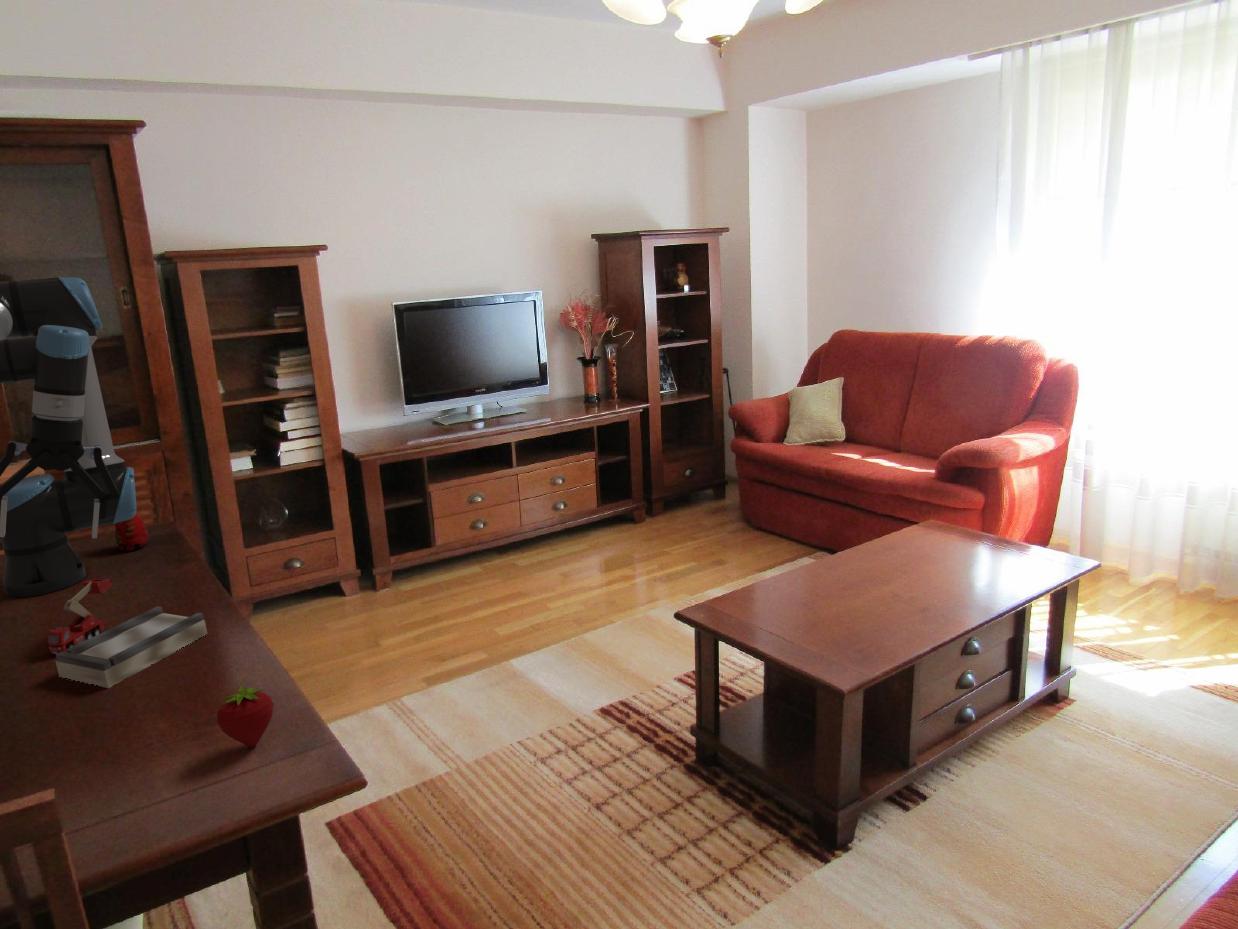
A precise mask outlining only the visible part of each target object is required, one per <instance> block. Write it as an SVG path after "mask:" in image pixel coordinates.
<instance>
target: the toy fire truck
mask: <svg viewBox="0 0 1238 929" xmlns="http://www.w3.org/2000/svg"><path fill="white" fill-rule="evenodd" d="M82 586H83V588H82V589H81V590H79V591H78V593H76V594H75V595H74V596H73V597H72V598H71V599H67V600H66V602H65V605H64V606H63V610H64V611H66V612H68V613H70V614H71V615H73V616H75V618H74V619H73V620H72V621H71V622H70V623H69V625H68V627H66V626H65V627H59V626H58V627H57V626H54V627H53V628H52V629H49V631H48V633H47V638H46V641H47V644H48V648H49V652H50V653H51V655H52V654H53V655H56V654H58V653H60V652H62V651H63V652H66V650H67V649H69V648H71V647H73V646H75V645H77V644H79V643H81V642H83V641H86V640H88V639H90V638H92V637H94V636H96V635H98V634H100V633H102V632H104V631H105V627H104V623H103V620H101V619H100V620H99V619H96V618H95V617H96V616H95V615H93V614H91V613H90V611H89V610H87V609H86V608H85V607H84V606H83V605H82V604H80V603H79V602H80V601H81V600H82V599H83V598H84V597H85V596H86V595H88V594H89V595H93V594H95V595H96V594H97V595H98V594H99V595H102V594H104V593H105V592H107V591H109V590H110V589H112V583H111V580H110V579H108V578H107V579H106V578H105V579H104V578H101V579H100V578H95V579H90V580H86V581H83V582H82Z"/></svg>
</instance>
